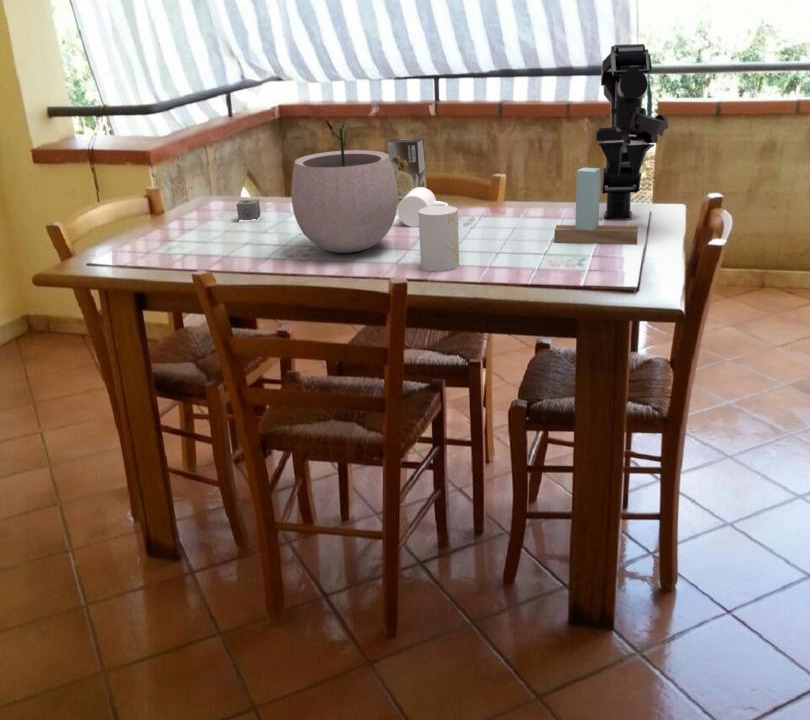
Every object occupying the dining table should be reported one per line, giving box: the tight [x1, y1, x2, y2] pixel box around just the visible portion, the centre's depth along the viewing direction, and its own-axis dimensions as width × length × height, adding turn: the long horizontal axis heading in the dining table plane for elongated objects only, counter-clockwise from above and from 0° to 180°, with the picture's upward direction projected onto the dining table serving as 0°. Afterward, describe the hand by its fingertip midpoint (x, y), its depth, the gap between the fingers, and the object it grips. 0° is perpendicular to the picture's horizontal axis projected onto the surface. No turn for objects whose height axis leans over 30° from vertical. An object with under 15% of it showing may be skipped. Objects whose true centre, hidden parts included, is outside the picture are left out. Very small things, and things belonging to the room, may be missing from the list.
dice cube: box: [236, 198, 262, 221], centre depth 233 cm, size 5×5×5 cm
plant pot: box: [291, 116, 399, 254], centre depth 196 cm, size 24×24×30 cm
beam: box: [553, 224, 639, 245], centre depth 197 cm, size 4×18×3 cm, turn 75°
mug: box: [397, 187, 450, 228], centre depth 220 cm, size 12×10×8 cm
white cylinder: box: [418, 205, 460, 272], centre depth 184 cm, size 8×8×12 cm
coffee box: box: [387, 138, 427, 200], centre depth 247 cm, size 9×6×16 cm
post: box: [574, 167, 601, 231], centre depth 194 cm, size 4×4×13 cm
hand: (626, 175), depth 197 cm, fingers open, 9 cm apart
